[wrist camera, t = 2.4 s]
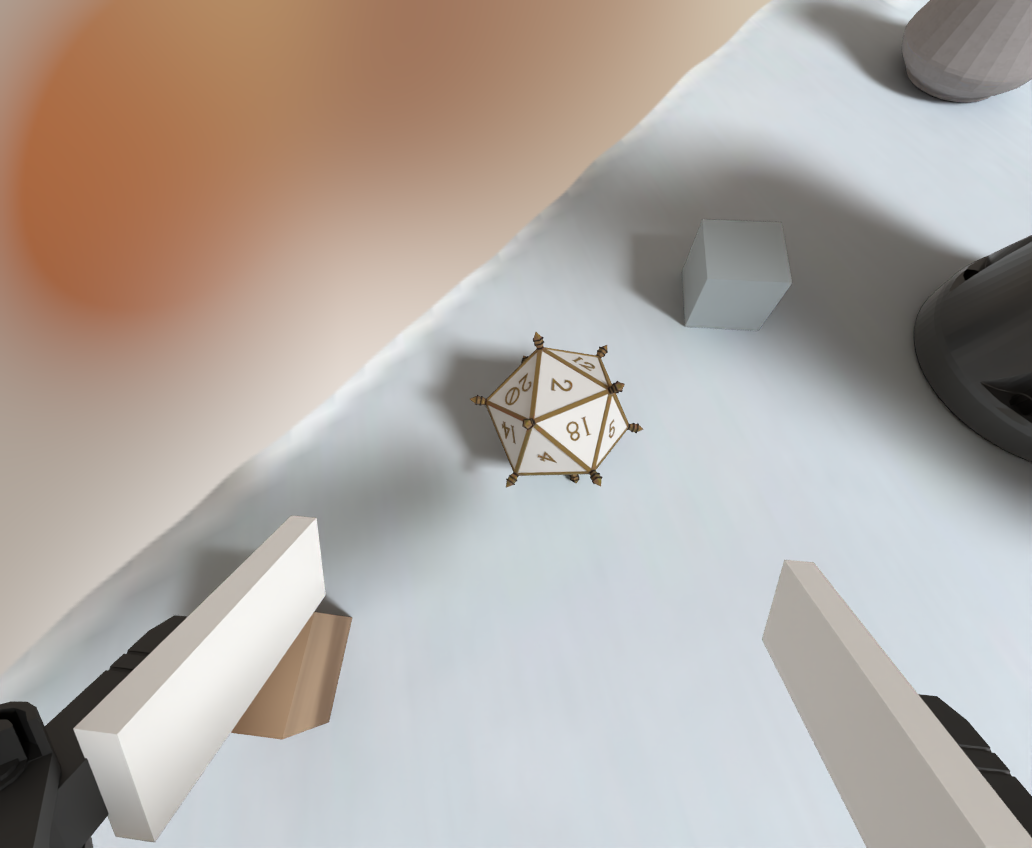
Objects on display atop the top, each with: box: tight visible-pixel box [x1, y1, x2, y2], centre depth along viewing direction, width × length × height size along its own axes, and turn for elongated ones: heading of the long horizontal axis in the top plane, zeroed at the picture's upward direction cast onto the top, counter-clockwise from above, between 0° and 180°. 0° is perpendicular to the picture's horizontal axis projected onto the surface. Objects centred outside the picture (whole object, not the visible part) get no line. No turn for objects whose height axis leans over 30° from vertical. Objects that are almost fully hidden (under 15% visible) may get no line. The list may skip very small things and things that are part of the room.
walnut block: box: [231, 612, 352, 739], centre depth 24 cm, size 5×5×5 cm
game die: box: [470, 332, 643, 487], centre depth 27 cm, size 9×8×10 cm
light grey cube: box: [682, 219, 792, 331], centre depth 32 cm, size 5×5×5 cm
